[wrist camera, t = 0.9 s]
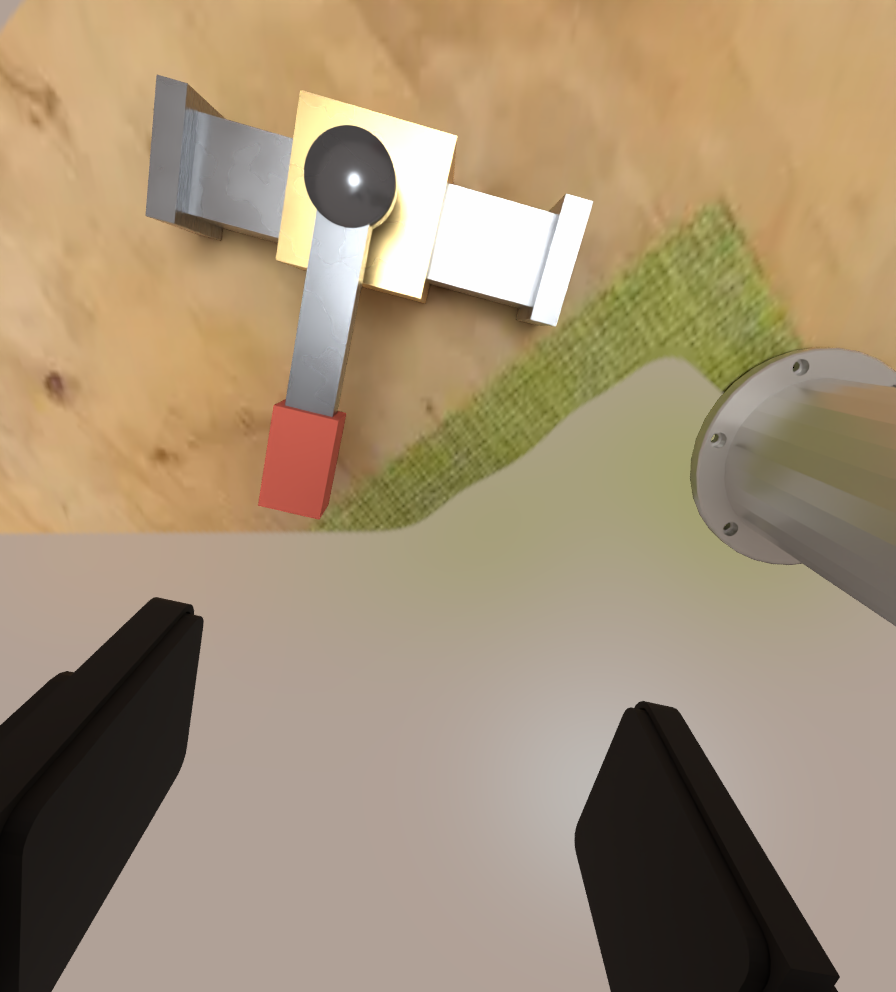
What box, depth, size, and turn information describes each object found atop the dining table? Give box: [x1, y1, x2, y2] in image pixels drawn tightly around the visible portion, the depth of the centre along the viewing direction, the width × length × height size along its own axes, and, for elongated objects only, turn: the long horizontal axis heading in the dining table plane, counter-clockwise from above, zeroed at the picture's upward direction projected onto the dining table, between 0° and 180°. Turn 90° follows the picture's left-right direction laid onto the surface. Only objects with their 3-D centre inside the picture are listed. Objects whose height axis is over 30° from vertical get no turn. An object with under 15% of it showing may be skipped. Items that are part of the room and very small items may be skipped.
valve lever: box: [258, 125, 398, 519], centre depth 20 cm, size 14×3×2 cm, turn 166°
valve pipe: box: [146, 75, 593, 326], centre depth 24 cm, size 18×6×9 cm, turn 76°
